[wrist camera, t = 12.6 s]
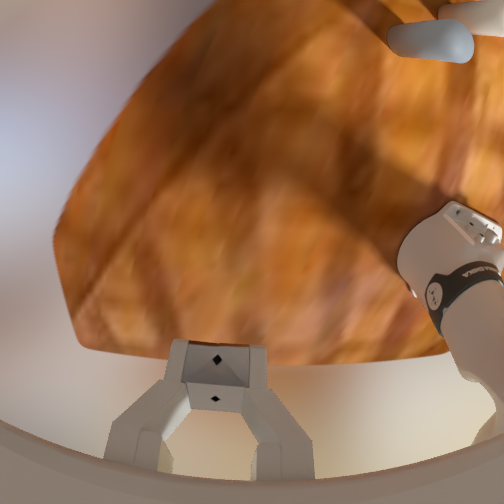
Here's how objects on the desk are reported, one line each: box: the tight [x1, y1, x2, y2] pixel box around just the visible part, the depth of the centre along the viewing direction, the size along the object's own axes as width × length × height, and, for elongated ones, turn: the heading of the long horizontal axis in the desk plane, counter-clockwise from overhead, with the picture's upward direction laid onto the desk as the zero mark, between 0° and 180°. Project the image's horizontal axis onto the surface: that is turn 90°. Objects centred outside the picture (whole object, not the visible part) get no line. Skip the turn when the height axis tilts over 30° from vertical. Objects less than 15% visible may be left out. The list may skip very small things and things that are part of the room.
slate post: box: [387, 19, 474, 63], centre depth 22 cm, size 4×4×12 cm
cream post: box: [438, 0, 504, 37], centre depth 19 cm, size 4×4×12 cm
